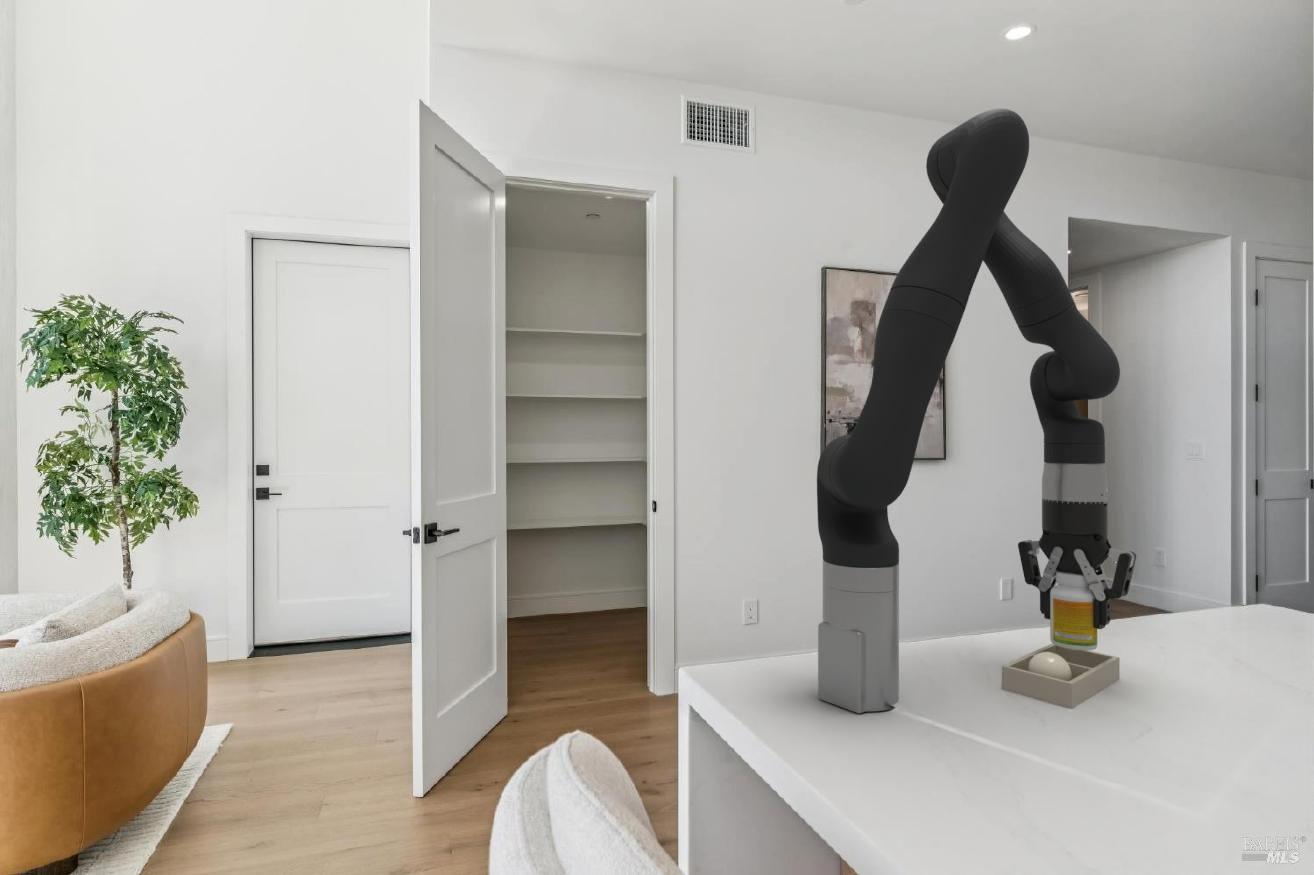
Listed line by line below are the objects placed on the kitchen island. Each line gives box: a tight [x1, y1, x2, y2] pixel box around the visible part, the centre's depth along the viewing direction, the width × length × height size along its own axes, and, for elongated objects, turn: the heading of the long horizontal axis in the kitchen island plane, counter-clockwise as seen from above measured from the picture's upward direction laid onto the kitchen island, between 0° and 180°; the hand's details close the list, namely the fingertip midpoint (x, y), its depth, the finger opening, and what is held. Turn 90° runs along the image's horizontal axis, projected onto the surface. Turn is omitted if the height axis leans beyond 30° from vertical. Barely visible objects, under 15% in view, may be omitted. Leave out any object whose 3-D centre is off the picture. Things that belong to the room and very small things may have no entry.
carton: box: [1001, 642, 1121, 710], centre depth 90 cm, size 16×8×4 cm, turn 129°
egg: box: [1028, 652, 1072, 682], centre depth 87 cm, size 5×5×5 cm
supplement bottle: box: [1049, 571, 1098, 651], centre depth 92 cm, size 5×5×10 cm
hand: (1074, 622), depth 92 cm, fingers closed on supplement bottle, 5 cm apart
